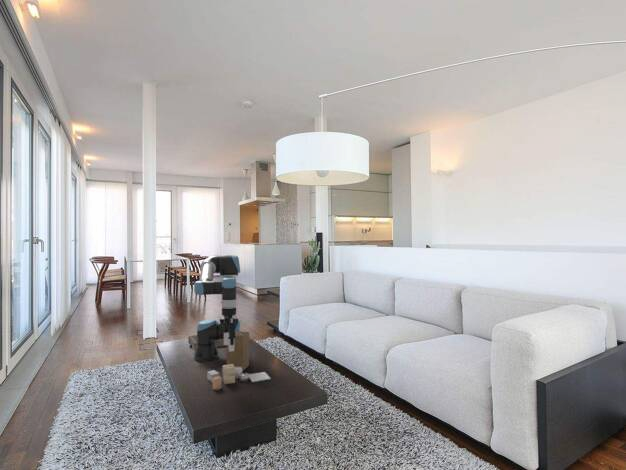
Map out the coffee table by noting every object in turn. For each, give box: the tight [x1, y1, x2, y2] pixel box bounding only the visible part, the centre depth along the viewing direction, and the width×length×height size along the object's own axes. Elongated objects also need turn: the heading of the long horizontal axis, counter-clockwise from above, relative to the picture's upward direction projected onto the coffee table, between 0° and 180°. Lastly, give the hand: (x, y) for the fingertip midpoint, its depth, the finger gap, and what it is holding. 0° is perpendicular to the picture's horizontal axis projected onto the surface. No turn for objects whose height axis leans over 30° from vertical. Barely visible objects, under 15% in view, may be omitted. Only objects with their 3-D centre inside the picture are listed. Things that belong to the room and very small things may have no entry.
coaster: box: [249, 371, 271, 383], centre depth 196 cm, size 10×10×1 cm
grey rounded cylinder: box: [235, 367, 243, 380], centre depth 196 cm, size 4×4×5 cm
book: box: [187, 334, 227, 351], centre depth 261 cm, size 30×22×5 cm
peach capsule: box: [212, 376, 223, 391], centre depth 182 cm, size 4×4×5 cm
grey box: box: [206, 369, 220, 383], centre depth 193 cm, size 6×4×4 cm, turn 40°
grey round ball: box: [238, 372, 250, 383], centre depth 192 cm, size 5×5×3 cm
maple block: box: [221, 364, 236, 385], centre depth 190 cm, size 6×6×8 cm
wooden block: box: [226, 331, 250, 372], centre depth 210 cm, size 10×10×20 cm
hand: (228, 347), depth 191 cm, fingers open, 13 cm apart
